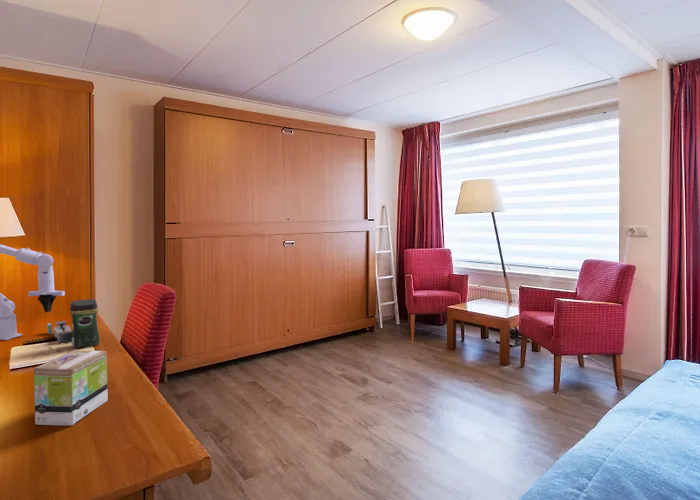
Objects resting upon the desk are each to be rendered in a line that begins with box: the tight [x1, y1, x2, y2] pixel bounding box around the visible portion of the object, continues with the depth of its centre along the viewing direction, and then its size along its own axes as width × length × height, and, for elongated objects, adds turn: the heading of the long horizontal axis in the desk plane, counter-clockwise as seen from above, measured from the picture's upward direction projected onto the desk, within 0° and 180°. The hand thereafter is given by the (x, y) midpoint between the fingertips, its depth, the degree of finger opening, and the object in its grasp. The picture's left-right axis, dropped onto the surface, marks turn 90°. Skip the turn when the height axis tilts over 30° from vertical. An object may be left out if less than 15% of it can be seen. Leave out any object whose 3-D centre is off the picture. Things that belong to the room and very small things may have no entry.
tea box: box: [33, 350, 109, 426], centre depth 112 cm, size 15×10×15 cm
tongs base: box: [60, 324, 72, 344], centre depth 182 cm, size 20×4×4 cm, turn 38°
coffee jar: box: [69, 298, 101, 349], centre depth 170 cm, size 10×8×19 cm
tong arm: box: [53, 320, 67, 345], centre depth 182 cm, size 21×4×5 cm, turn 41°
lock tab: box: [47, 322, 53, 335], centre depth 188 cm, size 4×1×4 cm, turn 38°
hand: (47, 311), depth 189 cm, fingers closed
